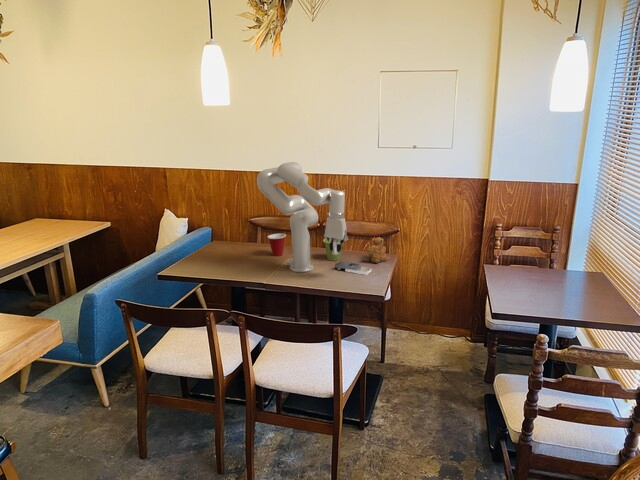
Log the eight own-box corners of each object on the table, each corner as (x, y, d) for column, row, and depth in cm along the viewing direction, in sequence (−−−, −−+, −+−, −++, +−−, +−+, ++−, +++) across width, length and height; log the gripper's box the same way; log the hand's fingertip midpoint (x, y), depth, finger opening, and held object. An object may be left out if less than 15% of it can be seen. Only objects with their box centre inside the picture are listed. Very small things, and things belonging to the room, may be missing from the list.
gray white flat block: (335, 269, 258) (335, 264, 257) (340, 265, 264) (340, 260, 263) (366, 274, 250) (366, 269, 249) (371, 270, 256) (371, 265, 255)
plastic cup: (270, 251, 290) (269, 232, 287) (288, 252, 289) (287, 233, 286) (266, 257, 280) (265, 237, 277) (284, 258, 278) (283, 237, 275)
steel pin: (331, 254, 245) (331, 239, 243) (333, 252, 248) (334, 237, 246) (336, 255, 244) (337, 240, 242) (339, 253, 247) (340, 238, 244)
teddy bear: (390, 259, 276) (391, 236, 272) (380, 265, 264) (380, 242, 261) (374, 256, 281) (375, 234, 277) (363, 262, 269) (364, 240, 266)
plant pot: (319, 258, 277) (318, 239, 274) (334, 254, 284) (334, 236, 281) (333, 263, 268) (333, 244, 265) (348, 259, 276) (348, 240, 273)
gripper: (318, 215, 241) (317, 250, 246) (348, 219, 233) (347, 255, 239) (325, 212, 247) (324, 246, 252) (354, 216, 240) (353, 251, 245)
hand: (335, 250), depth 245 cm, fingers closed on steel pin, 3 cm apart
